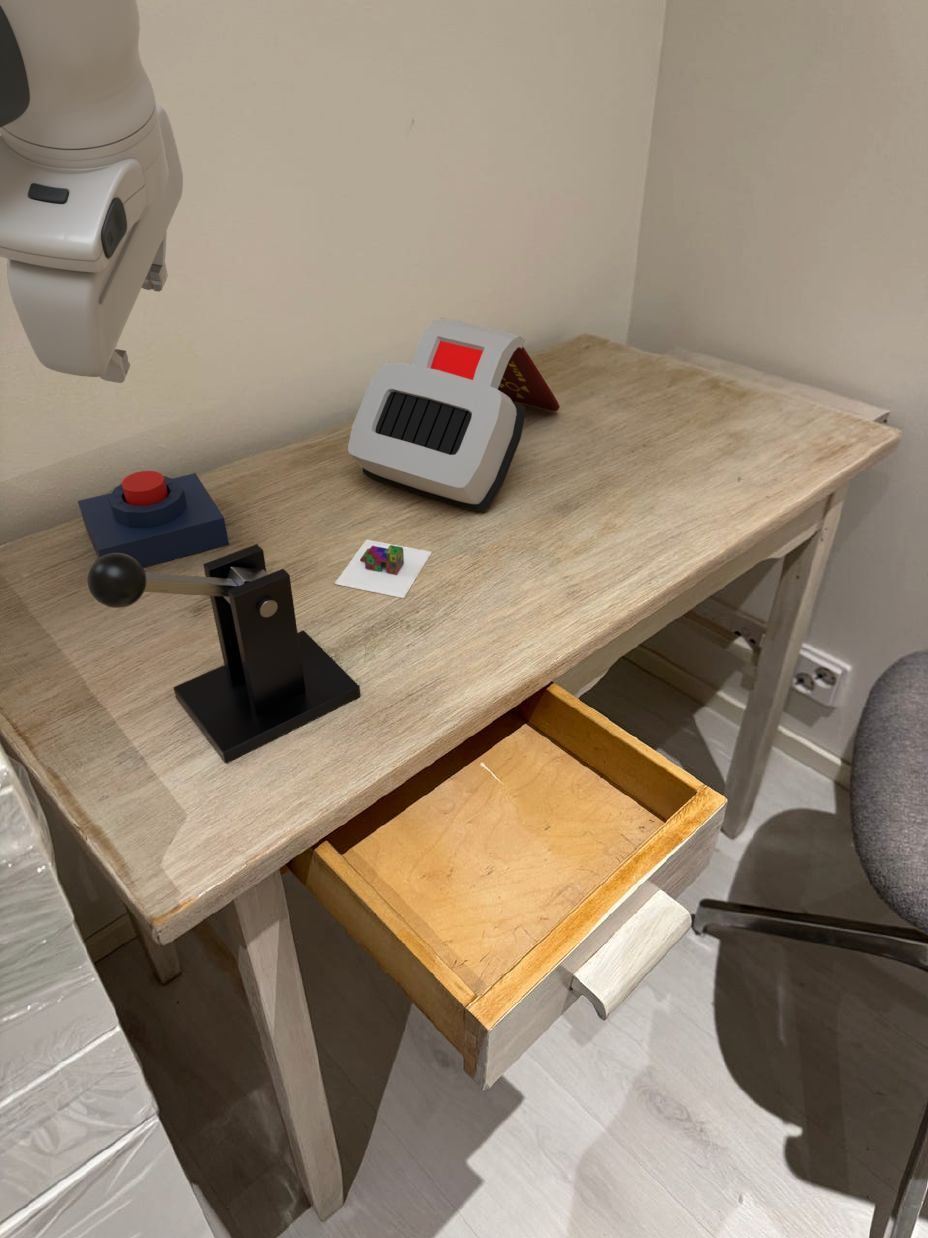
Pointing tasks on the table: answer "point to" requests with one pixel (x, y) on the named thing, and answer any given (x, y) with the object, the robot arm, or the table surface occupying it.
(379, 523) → the table surface
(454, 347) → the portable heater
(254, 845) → the table surface
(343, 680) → the switch bracket
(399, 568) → the multicoloured block
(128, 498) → the stop button
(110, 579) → the lever
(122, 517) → the stop box
